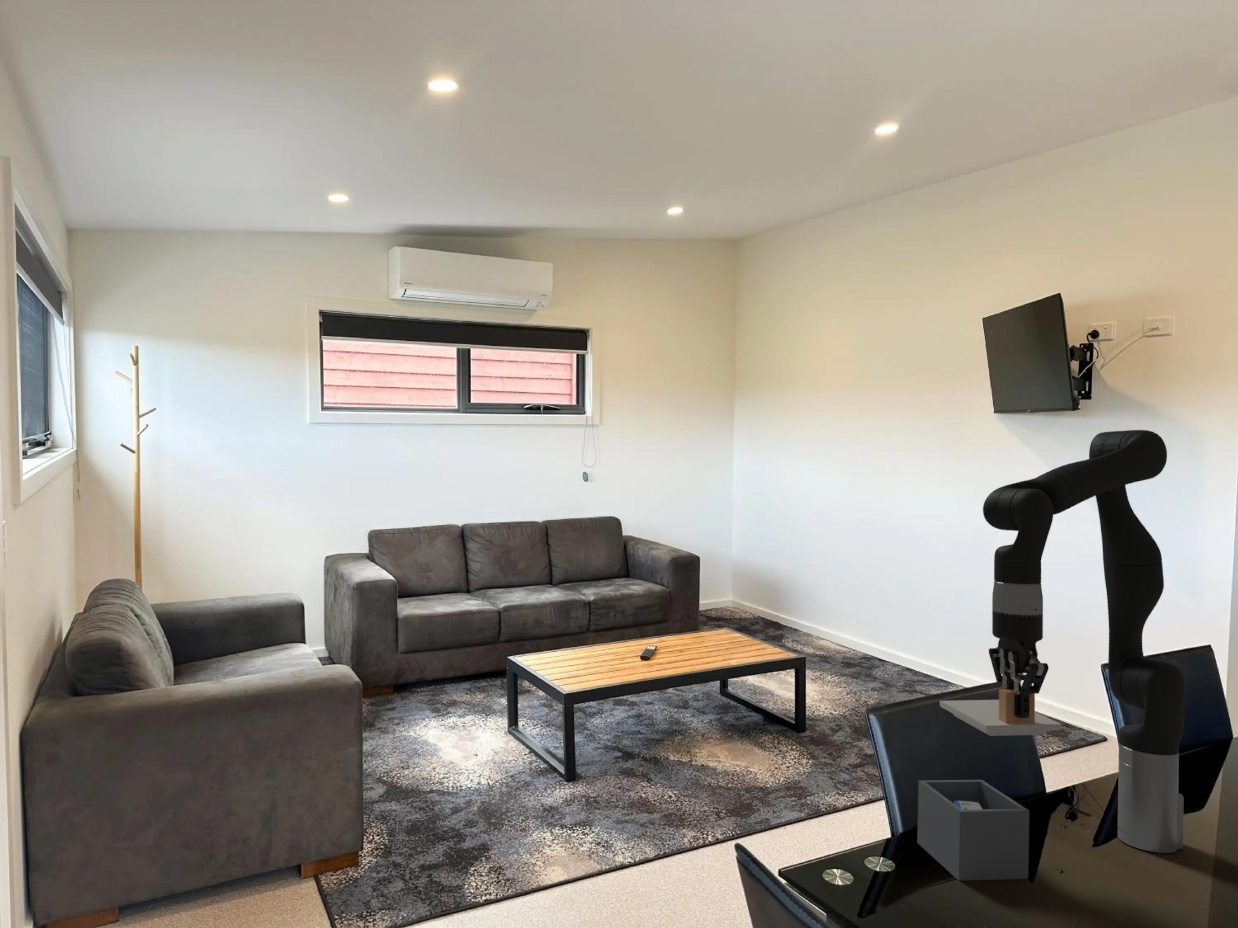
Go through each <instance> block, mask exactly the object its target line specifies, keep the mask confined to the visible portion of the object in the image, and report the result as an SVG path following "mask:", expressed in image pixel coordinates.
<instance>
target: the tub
mask: <svg viewBox="0 0 1238 928" xmlns="http://www.w3.org/2000/svg"><path fill="white" fill-rule="evenodd" d="M917 786H918V789H917V791H918V794H917V797H918V798H917V834H916V835H917V836H916V837H917V838H916V840H917V842H916V843H917V844H918V845H919V846H920V847H921V848H923V849H924V851H925V852H927V853H928V854H929V855H930V856H931V857H932V858H933V859H934V860H936V862H938V863H939V864H940V865H941V866H942V867H943V868H944V869H945V870H946V871H948V872H949V874H950V875H952V877H954V878H956V880H957V881H990V880H991V881H992V880H1023V879H1024V880H1026V879H1027V880H1028V879H1029V855H1030V854H1029V853H1030V851H1029V849H1030V844H1029V843H1030V810H1029V809H1028V808H1026V807H1025V806H1023V805H1022V804H1020V803H1018V802H1017V801H1015V800H1014V799H1012V798H1010V797H1009V796H1007V795H1006V794H1004V793H1003V792H1001V791H1000V790H998V789H997V788H995V787H993V786H992V785H990V783H987V782H986V781H984V780H983V779H949V780H948V779H946V780H945V779H941V780H939V779H938V780H928V779H927V780H918V785H917ZM954 801H969V802H977V803H979V804H980V806H981V807H982V809H977V810H962V809H960V808H959V807H958V806H956V805H955V804H954V803H953V802H954Z"/></svg>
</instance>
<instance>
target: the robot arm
mask: <svg viewBox="0 0 1238 928" xmlns="http://www.w3.org/2000/svg"><path fill="white" fill-rule="evenodd" d="M1088 451H1089V452H1088V459H1084V460H1078V461H1075V462H1070V463H1067V464H1064V465H1061V466H1058V467H1056V468H1054V469H1051V470H1049V471H1045V472H1044V473H1042V474H1041V475H1038V476H1037V477H1034V478H1030V479H1028V480H1027V479H1026V480H1023V481H1018V482H1013V483H1009V484H1007V485H1003V486H1001V487H998V488H995V489H994V490H993V491H991V492H990V493H989V494H988V496H987V497H986V498H985V500H984V503H983V506H982V515H983V517H984V520H985V522H987V523H988V525H990V526H991V527H992V528H994V529H997V530H1001V531H1014V532H1017V535H1016V538H1015V539H1014V542H1013V543H1012V544H1005V545H1002V546H999V547H997V548H996V549H995V552H994V556H993V558H994V559H993V561H994V562H993V580H994V581H993V589H992V595H991V597H992V600H991V601H992V604H991V605H992V606H991V607H992V612H991V619H992V620H991V621H992V622H991V624H992V625H991V626H992V628H991V630H992V631H991V633H992V635H993V637H995V638H996V639H998V642H997V646H996V647H994V648H993V647H990V648H988V654H989V657H990V658H989V659H990V661H991V665H992V669H993V673H994V677H995V680H996V682H997V683H998V684H1001V687H1002V689H1014V692H1015V694H1014V715H1015V716H1016V717H1018V718H1028V717H1029V713H1030V709H1029V708H1030V695H1032V694H1035V695H1037V694H1040V691H1041V688H1042V687H1043V683H1044V682H1045V678H1046V677H1047V674H1048V671H1049V665H1048V663H1047V662H1041V661H1040V659H1039V658H1038V649H1037V643H1038V642H1040V641H1041V640H1043V638H1044V598H1043V597H1044V595H1043V589H1042V558H1043V554H1044V551H1045V547H1046V543H1047V540H1048V536H1049V533H1050V532H1051V531H1050V530H1051V527H1052V524H1053V520H1054V515H1058V514H1061V513H1063V512H1065V511H1066V510H1067V511H1068V510H1069V509H1070V508H1073V507H1075V506H1077V505H1079V504H1080V503H1082V502H1085V501H1087V500H1090V499H1091V498H1094V497H1095V499H1096V505H1097V511H1098V518H1099V527H1100V533H1101V535H1100V536H1101V546H1102V562H1103V563H1102V564H1103V574H1104V576H1103V577H1104V582H1105V589H1106V590H1105V591H1106V600H1107V616H1108V659H1107V660H1108V662H1107V666H1108V667H1107V668H1108V670H1107V671H1108V682H1109V687H1110V691H1111V693H1112V695H1113V696H1114V698H1115V699H1116V701H1117V700H1118V701H1119V702H1121V704H1125V705H1129V706H1131V707H1135V708H1138V709H1142V710H1144V715H1143V720H1142V722H1141V723H1139V724H1138V723H1137V724H1136V723H1135V724H1126V725H1123V726H1122V727H1120V729H1119V732H1118V775H1117V776H1118V785H1117V786H1118V787H1117V788H1118V789H1117V790H1118V791H1117V793H1118V794H1117V798H1118V799H1117V838H1118V839H1119V840H1120V841H1121V842H1123V843H1124V844H1126V845H1128V846H1131V847H1134V848H1136V849H1139V850H1143V851H1147V852H1152V853H1158V854H1173V853H1175V852H1177V851H1178V850H1181V849H1183V850H1184V795H1183V794H1182V793H1179V785H1180V784H1179V780H1180V778H1179V777H1180V776H1179V775H1180V774H1179V773H1180V771H1179V770H1180V769H1179V767H1180V766H1179V763H1180V762H1179V761H1180V757H1179V756H1180V752H1179V751H1180V742H1181V740H1182V737H1183V735H1184V728H1185V727H1184V725H1185V724H1184V722H1185V711H1186V710H1185V708H1186V697H1187V685H1186V679H1185V676H1184V674H1183V672H1182V670H1181V669H1180V668H1179V667H1178V666H1177V665H1175V664H1174V663H1173V664H1172V663H1170V662H1166V661H1162V660H1158V659H1152V658H1149V657H1145V656H1144V650H1143V632H1144V628H1145V625H1146V622H1147V620H1148V618H1149V616H1150V615H1151V614H1152V612H1153V610H1155V607H1156V606H1157V604H1158V602H1159V600H1160V599H1161V597H1162V594H1163V592H1164V588H1165V587H1164V586H1165V579H1164V578H1165V577H1164V568H1163V558H1162V556H1163V555H1162V553H1161V550H1160V547H1159V545H1158V543H1157V542H1156V539H1154V538H1153V536H1152V535H1151V533H1150V531H1148V530H1147V528H1146V527H1145V525H1144V524H1143V523H1142V521H1141V520H1140V519H1139V517H1138V516H1137V514H1136V513H1135V512H1134V510H1133V508H1132V505H1131V503H1130V501H1129V496H1128V493H1127V488H1126V485H1131V484H1132V483H1133V484H1134V483H1138V482H1142V481H1147V480H1151V479H1154V478H1156V477H1157V476H1159V475H1160V474H1161V473H1162V472H1163V470H1164V468H1165V466H1166V464H1167V459H1168V451H1167V445H1166V444H1165V441H1164V439H1163V438H1162V436H1160V435H1159V434H1158V433H1156V432H1155V431H1152V430H1147V429H1130V430H1128V429H1127V430H1116V431H1115V430H1114V431H1113V430H1111V431H1104V432H1099V433H1097V434H1096V435H1095V436H1094V437H1093V438H1092V439H1091V442H1090V445H1089V450H1088Z"/></svg>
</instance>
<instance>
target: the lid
mask: <svg viewBox="0 0 1238 928" xmlns="http://www.w3.org/2000/svg"><path fill="white" fill-rule="evenodd" d="M1014 694H1015V692H1014V689H1003V688H1002V689H1001V688H999V690H998V699H966V700H965V699H964V700H963V699H961V700H955V699H954V700H939V707H940V708H942V709H944V710H945V711H948V712H949V713H951V714H953V716H954V717H955V718H957V719H959V720H961V721H963V722H964V723H966V724H967V725H970V726H972V727H974V728H975V729H977V730H979V731H980V732H983V733H984V734H985V735H988V736H989V737H994V736H995V737H999V736H1001V737H1002V736H1005V737H1006V736H1008V737H1009V736H1044V735H1046V731H1050V732H1051V731H1062V723H1060V722H1058V721H1055V720H1054V719H1051V718H1049V717H1047V716H1045V715H1043V714H1041V713H1039V712H1036V710H1035V709H1036V705H1035V704H1036V698H1035V697H1036V696H1035V695H1036V694H1032V695H1030V708H1029V709H1030V713H1029V717H1028V718H1018V717H1016V716H1015V715H1014Z"/></svg>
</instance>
